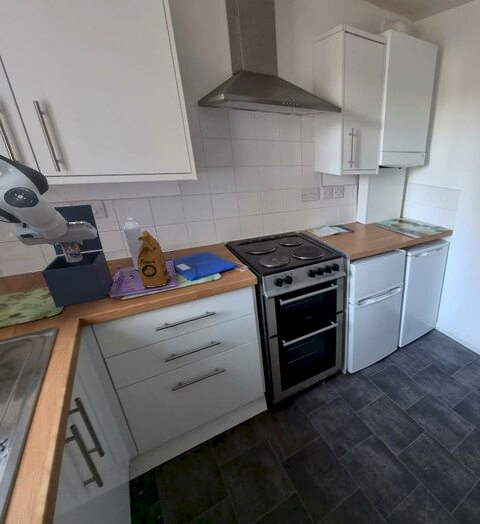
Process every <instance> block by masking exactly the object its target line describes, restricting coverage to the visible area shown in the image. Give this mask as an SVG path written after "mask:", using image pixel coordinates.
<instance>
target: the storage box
mask: <svg viewBox="0 0 480 524" xmlns="http://www.w3.org/2000/svg"><path fill="white" fill-rule="evenodd" d="M81 255H82V257H83V259H82V260H81V261H78V262H74V263H70V262H67V260H66V257H65V255H64V254H62V255H56V257H54V258H53V260H51V262H50V263H49V264H48V265H47V266H46V267H45V268H44V269H43V270H42V271H41V274H42V276H43V279H44V281H45V284H46V286H47V288H48V291H49V293H50V296H51V298H52V301H53V303H54V305H55V307H56V308H61V306H62V307H67V306H71V305H72V306H73V305H78V304H83V303H88V302H94V301H98V300H104V299H107V297H108V294H109V292H110V290H111V287H112V285H111V284H113V282H114V280H113V277H112V273H111V271H110V268H109V265H108V261H107V258H106V255H105V251H104V249H101V250H93V251H86V252H81ZM112 281H113V282H112Z"/></svg>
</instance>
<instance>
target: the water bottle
mask: <svg viewBox="0 0 480 524" xmlns="http://www.w3.org/2000/svg"><path fill="white" fill-rule="evenodd" d="M123 232H124V235H125V239H126V243H127V246H128V250H129V253H130V256H131V260H132V264H133V268H134V270H135V269H138V266H137V258H138V254H139V250H140V246H141V244H142V242H143V241H142V240H140V241H139V240H138V239H139V237H141V236H143V234H142V233H143V231H142V227H141V225H140V224H139V223H137V222H136V221H135V218H133V216H127V217H125V223H124V226H123Z"/></svg>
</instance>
